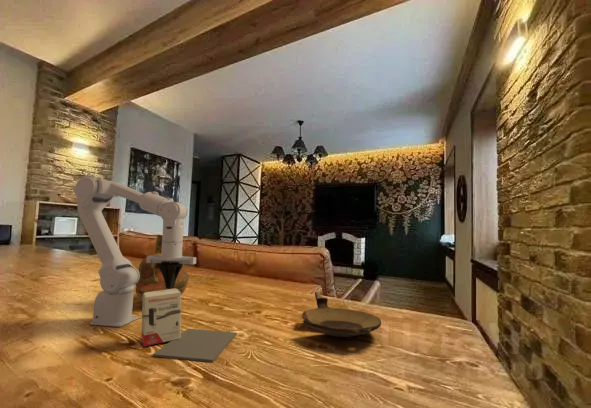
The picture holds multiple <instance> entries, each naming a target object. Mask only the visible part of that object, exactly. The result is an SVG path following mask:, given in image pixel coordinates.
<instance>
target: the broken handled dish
mask: <svg viewBox="0 0 591 408" xmlns="http://www.w3.org/2000/svg"><path fill="white" fill-rule="evenodd" d="M314 296H315V301H316V306H317V308H312V309H308V310H304V311H303V312H302V315H301V318H302V319H303V320H302V323H303V324H305V326H308V327H309V328H311V329H313V330H315V331H317V332H319V333H322V334H324V335H327V336H332V337H339V338H344V337H345V338H349V337H350V338H351V337H355V336H361V335H365V334H369V333H371V332H373V331H376V330H377V329H379V328H380V327H381V326H382V320H381V318H380V317H378V316H377V315H374V314H372V313H368V312H367V311H365V312H364V311H361V310H353V309H348V308H339V307H338V308H337V307H329V306H328V298H327V297H323V295H322V294H321V293H320V292H319V291H318V290H316V291H315V292H314Z"/></svg>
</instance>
